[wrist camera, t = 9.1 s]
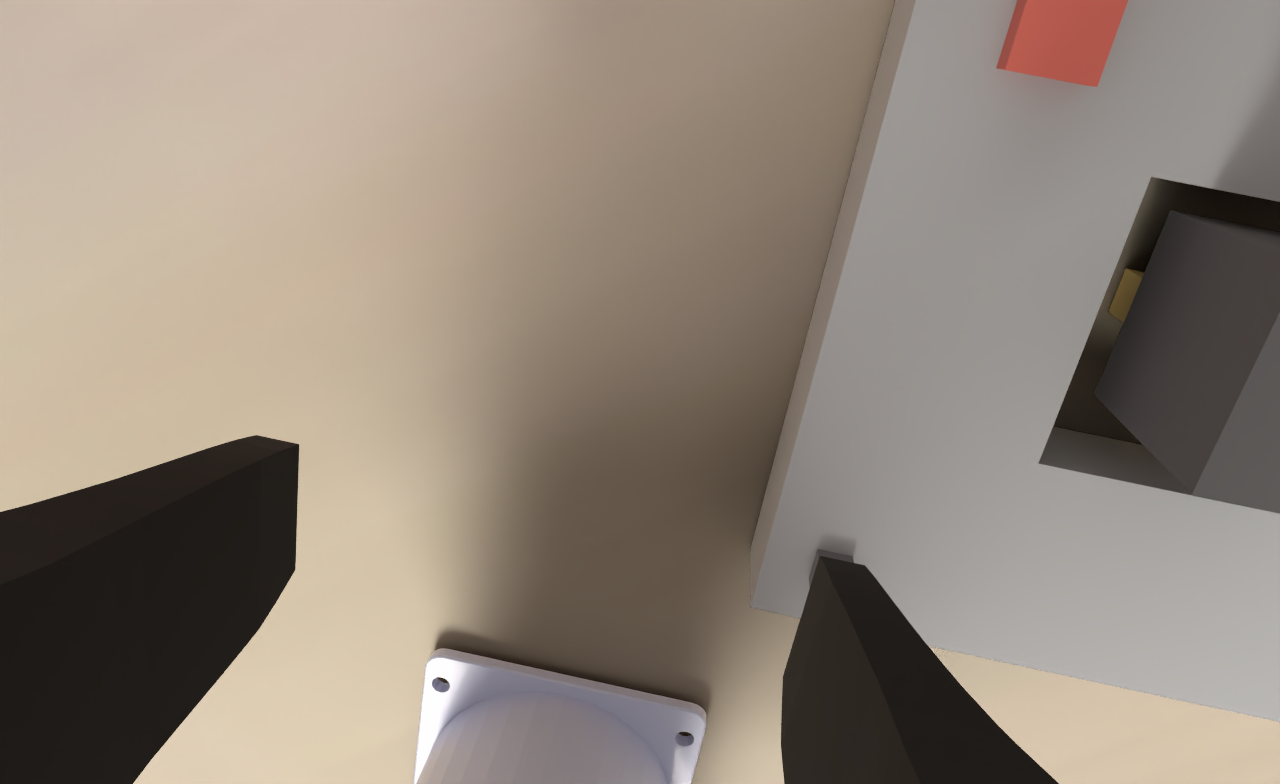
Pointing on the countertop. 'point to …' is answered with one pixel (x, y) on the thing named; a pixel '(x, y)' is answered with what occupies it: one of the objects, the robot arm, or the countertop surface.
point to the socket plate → (1026, 348)
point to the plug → (1203, 358)
